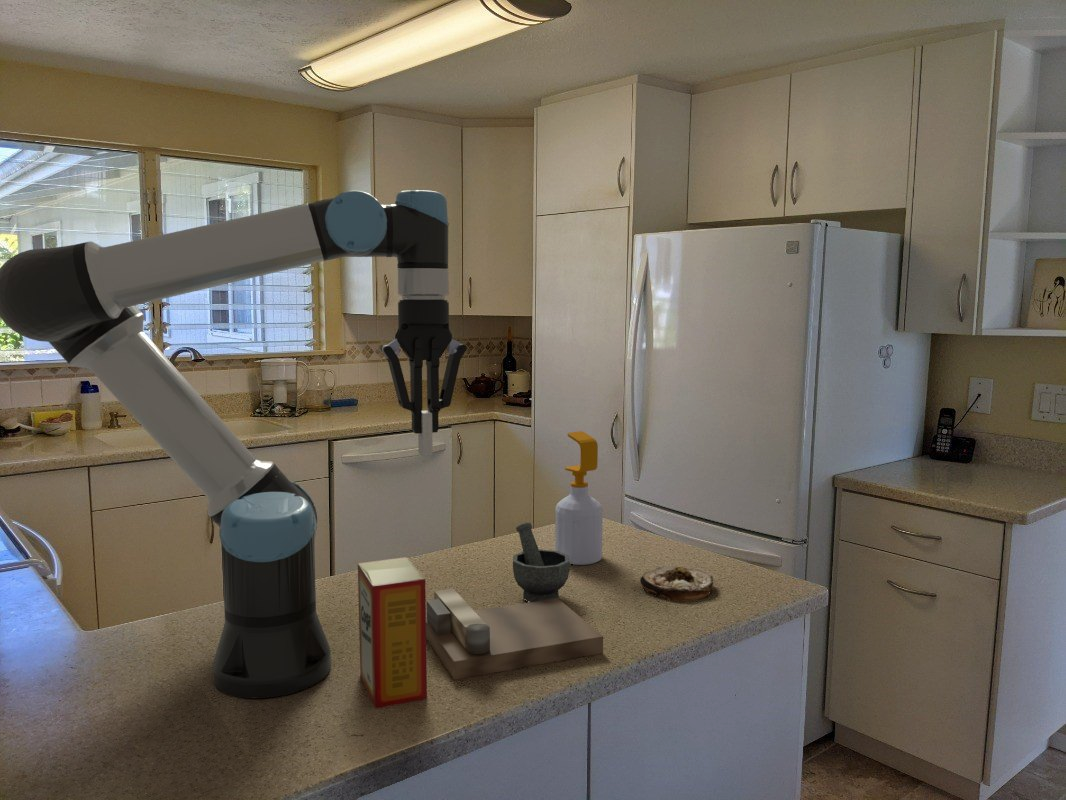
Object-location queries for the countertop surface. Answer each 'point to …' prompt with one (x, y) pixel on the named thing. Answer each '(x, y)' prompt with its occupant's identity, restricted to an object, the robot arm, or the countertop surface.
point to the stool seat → (513, 637)
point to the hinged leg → (465, 622)
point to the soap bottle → (580, 510)
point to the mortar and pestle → (539, 568)
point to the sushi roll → (677, 583)
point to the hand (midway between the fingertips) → (425, 453)
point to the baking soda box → (392, 631)
